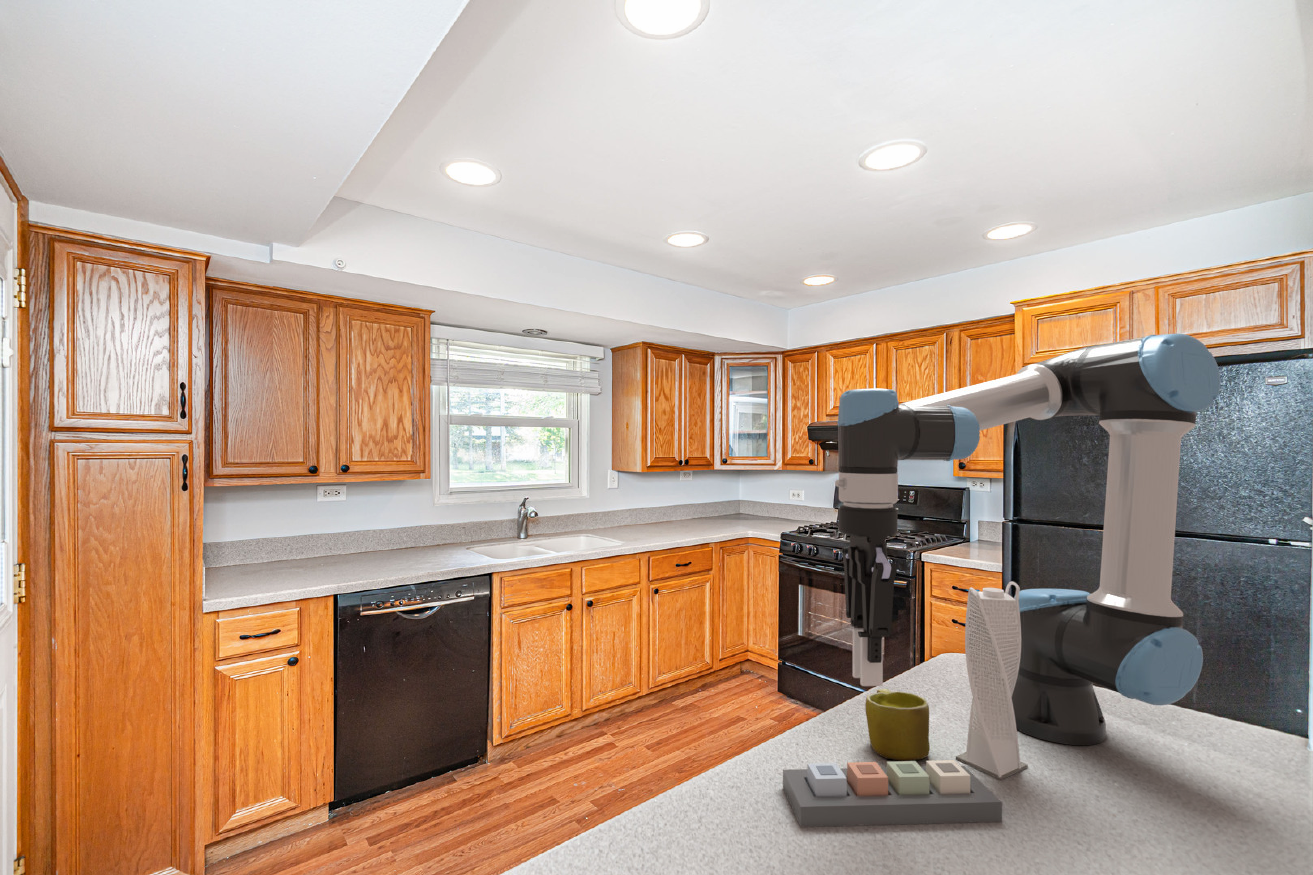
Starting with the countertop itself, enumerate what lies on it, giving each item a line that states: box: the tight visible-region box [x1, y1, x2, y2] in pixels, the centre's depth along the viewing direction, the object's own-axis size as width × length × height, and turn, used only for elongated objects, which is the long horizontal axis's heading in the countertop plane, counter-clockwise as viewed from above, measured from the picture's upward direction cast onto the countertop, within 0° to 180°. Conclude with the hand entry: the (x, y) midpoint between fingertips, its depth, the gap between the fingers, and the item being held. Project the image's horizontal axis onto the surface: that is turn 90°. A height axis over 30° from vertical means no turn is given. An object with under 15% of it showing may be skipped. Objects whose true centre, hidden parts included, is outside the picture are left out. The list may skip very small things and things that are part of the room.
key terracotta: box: [846, 761, 888, 796], centre depth 84 cm, size 4×4×3 cm
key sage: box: [886, 760, 929, 795], centre depth 84 cm, size 4×4×3 cm
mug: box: [864, 688, 931, 761], centre depth 100 cm, size 12×10×10 cm
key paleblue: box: [806, 762, 847, 797], centre depth 84 cm, size 4×4×3 cm
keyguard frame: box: [782, 765, 1003, 828], centre depth 84 cm, size 26×9×2 cm, turn 93°
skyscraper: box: [955, 580, 1029, 781], centre depth 94 cm, size 8×8×28 cm
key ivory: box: [925, 759, 970, 794], centre depth 85 cm, size 4×4×3 cm
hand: (867, 680), depth 84 cm, fingers open, 2 cm apart
